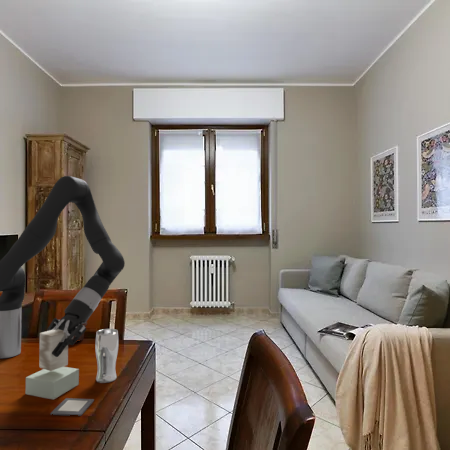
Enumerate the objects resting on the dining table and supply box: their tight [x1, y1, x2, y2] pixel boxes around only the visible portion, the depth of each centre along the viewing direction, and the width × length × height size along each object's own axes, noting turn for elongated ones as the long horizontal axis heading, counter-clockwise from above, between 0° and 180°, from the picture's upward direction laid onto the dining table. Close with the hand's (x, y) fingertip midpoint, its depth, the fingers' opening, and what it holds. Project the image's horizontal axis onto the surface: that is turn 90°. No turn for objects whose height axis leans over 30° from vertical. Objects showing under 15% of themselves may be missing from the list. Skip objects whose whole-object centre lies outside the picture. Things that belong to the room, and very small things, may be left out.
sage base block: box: [24, 366, 80, 400], centre depth 104 cm, size 10×10×5 cm
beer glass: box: [94, 328, 119, 384], centre depth 112 cm, size 7×7×15 cm
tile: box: [49, 397, 95, 417], centre depth 94 cm, size 8×8×1 cm
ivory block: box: [38, 329, 69, 371], centre depth 104 cm, size 6×6×10 cm
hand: (48, 353), depth 103 cm, fingers closed on ivory block, 5 cm apart
